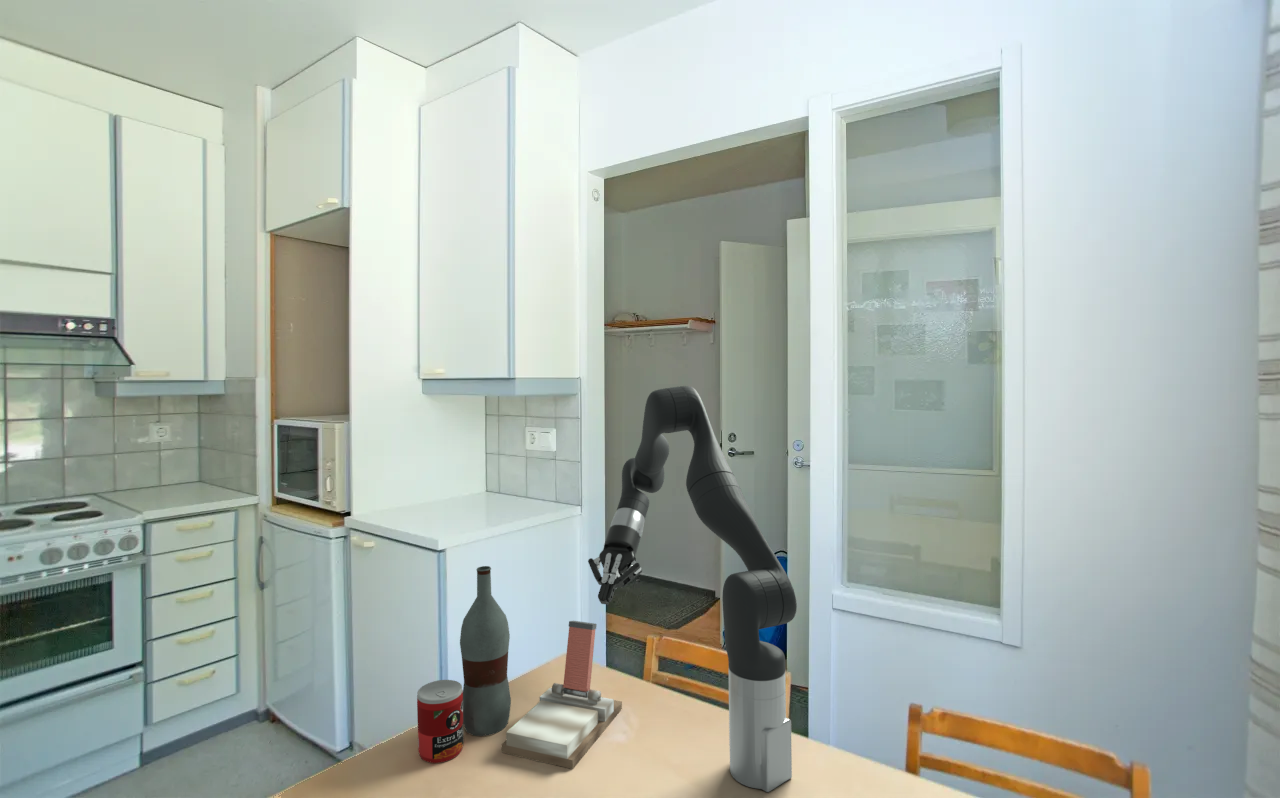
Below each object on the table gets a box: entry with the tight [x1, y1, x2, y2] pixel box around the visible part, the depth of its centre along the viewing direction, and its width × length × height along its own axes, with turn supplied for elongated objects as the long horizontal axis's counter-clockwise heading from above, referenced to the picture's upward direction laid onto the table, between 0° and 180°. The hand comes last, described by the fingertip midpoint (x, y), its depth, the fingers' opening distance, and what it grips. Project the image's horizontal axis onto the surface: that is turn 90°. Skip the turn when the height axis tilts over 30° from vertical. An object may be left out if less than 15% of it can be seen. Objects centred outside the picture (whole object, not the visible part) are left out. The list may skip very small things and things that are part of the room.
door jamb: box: [501, 682, 623, 770], centre depth 117 cm, size 21×14×6 cm, turn 159°
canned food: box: [416, 679, 465, 764], centre depth 111 cm, size 8×8×11 cm
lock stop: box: [563, 620, 597, 698], centre depth 123 cm, size 2×5×14 cm, turn 68°
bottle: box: [459, 565, 512, 737], centre depth 119 cm, size 9×9×30 cm
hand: (603, 602), depth 133 cm, fingers closed
